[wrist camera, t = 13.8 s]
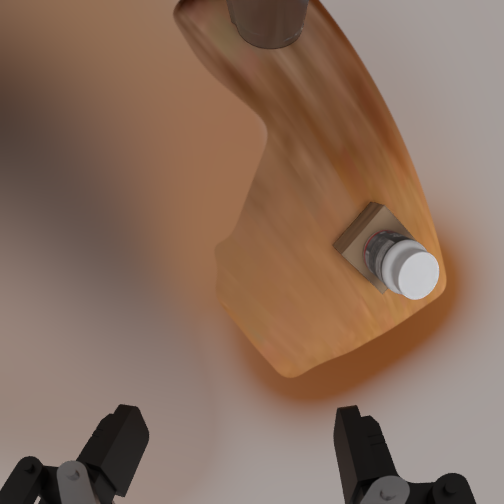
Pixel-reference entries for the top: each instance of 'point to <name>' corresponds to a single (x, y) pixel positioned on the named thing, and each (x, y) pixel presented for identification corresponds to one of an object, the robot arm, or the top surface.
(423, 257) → the pill bottle
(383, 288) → the walnut block
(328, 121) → the top surface
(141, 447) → the robot arm
